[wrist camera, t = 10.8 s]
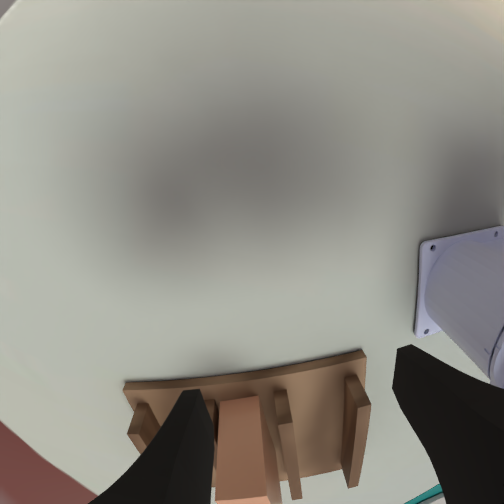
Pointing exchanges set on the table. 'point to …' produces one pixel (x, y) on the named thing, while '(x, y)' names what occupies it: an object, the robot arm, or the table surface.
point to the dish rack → (279, 413)
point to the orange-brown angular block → (245, 455)
